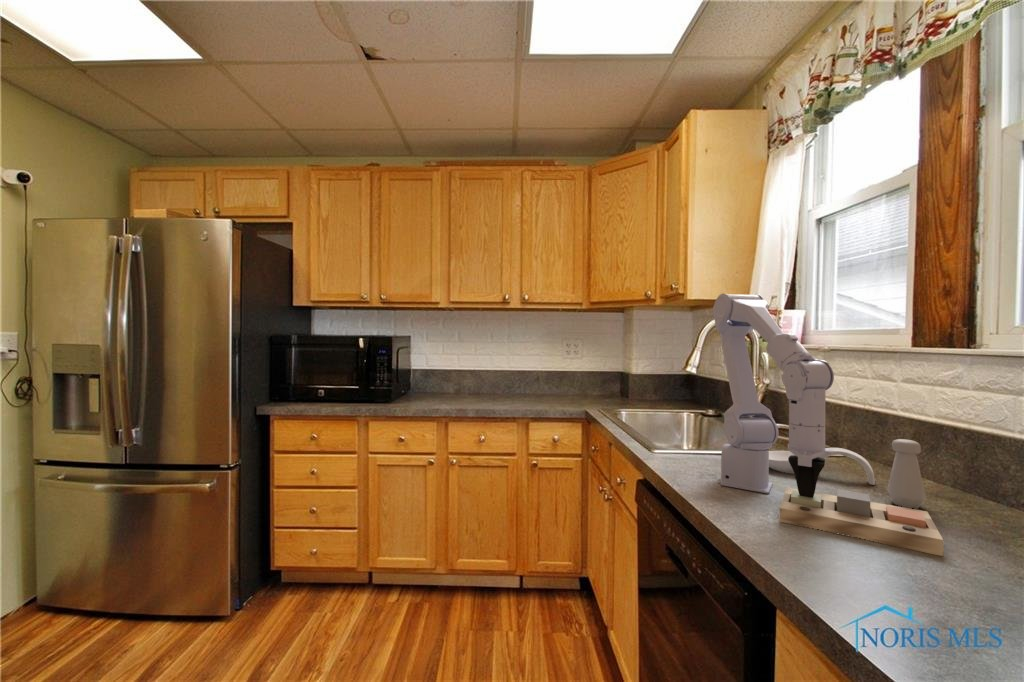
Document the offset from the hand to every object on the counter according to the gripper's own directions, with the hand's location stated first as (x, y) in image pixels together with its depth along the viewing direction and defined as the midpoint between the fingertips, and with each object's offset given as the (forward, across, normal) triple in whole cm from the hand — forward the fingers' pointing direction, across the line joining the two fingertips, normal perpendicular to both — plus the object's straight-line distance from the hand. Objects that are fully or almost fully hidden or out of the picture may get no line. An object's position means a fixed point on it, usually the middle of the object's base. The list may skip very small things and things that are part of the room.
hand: (806, 496), depth 83 cm
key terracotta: (+3, 0, -14) cm, 14 cm away
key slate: (+1, 0, -7) cm, 7 cm away
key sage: (+3, 0, 0) cm, 3 cm away
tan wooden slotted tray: (+3, 0, -7) cm, 8 cm away
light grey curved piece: (+4, +32, 0) cm, 32 cm away
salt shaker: (+4, +18, -16) cm, 24 cm away
